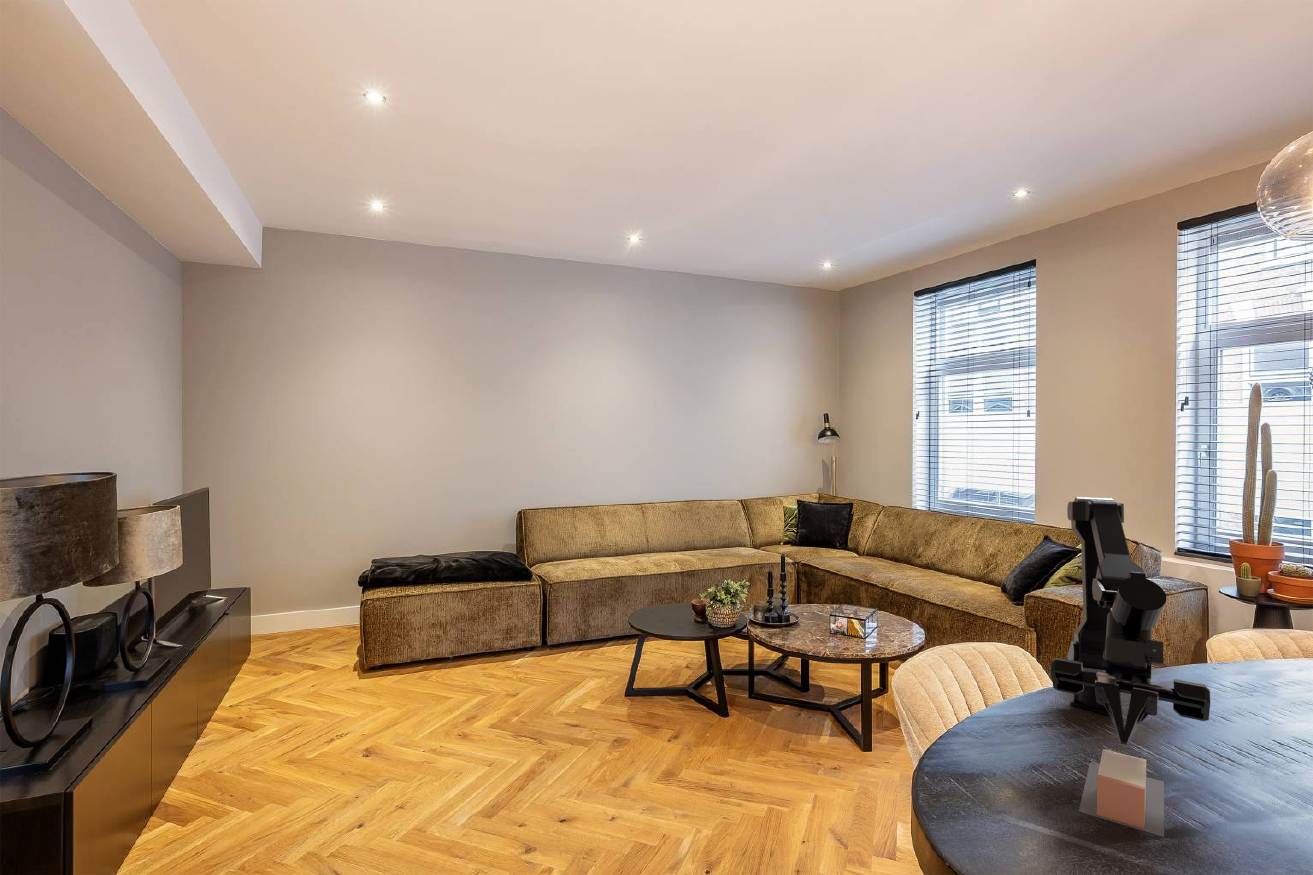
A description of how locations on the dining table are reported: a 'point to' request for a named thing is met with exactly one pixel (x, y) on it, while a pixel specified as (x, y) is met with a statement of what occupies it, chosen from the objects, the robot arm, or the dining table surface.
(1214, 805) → the dining table surface
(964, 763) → the dining table surface
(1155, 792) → the charcoal mat
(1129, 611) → the robot arm
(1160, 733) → the dining table surface
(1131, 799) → the cream block
